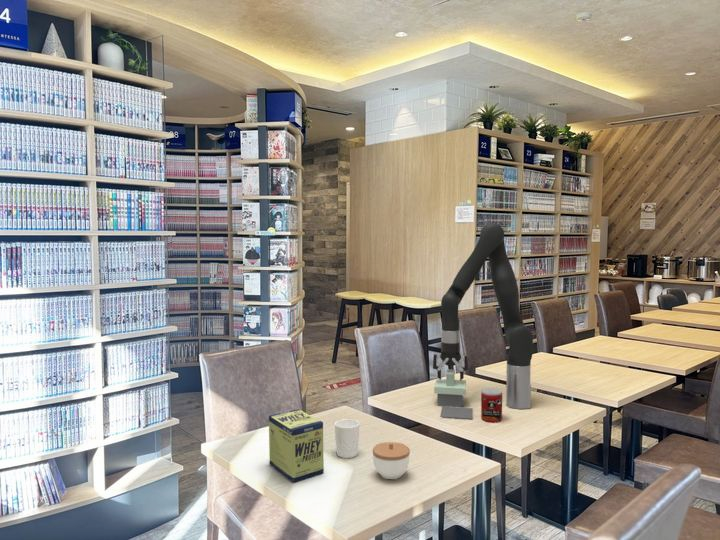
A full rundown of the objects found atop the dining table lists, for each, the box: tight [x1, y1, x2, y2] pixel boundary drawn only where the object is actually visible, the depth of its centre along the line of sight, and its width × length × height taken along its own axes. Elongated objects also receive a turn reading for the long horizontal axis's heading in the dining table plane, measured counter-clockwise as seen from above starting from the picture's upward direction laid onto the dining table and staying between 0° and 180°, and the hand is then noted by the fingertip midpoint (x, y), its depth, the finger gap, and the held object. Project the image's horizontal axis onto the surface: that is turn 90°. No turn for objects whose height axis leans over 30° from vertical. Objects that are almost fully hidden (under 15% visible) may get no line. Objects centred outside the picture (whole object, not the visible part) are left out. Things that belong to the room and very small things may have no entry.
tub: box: [436, 394, 464, 408], centre depth 220 cm, size 10×10×7 cm
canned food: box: [480, 387, 503, 423], centre depth 200 cm, size 8×8×11 cm
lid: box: [433, 368, 467, 396], centre depth 220 cm, size 12×12×8 cm
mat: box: [439, 406, 474, 421], centre depth 207 cm, size 12×12×1 cm
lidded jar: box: [372, 441, 410, 480], centre depth 155 cm, size 11×11×9 cm
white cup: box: [334, 418, 360, 459], centre depth 170 cm, size 8×8×10 cm
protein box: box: [268, 408, 325, 484], centre depth 159 cm, size 10×16×16 cm
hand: (450, 379), depth 220 cm, fingers open, 8 cm apart
